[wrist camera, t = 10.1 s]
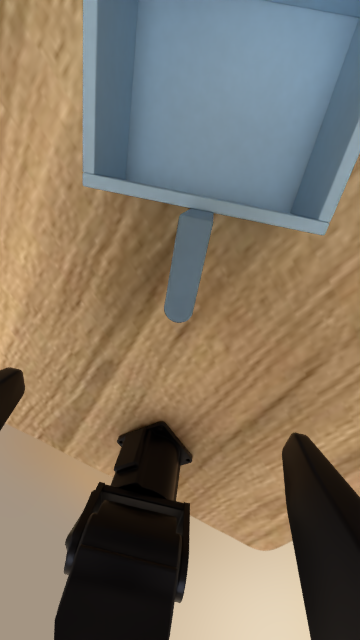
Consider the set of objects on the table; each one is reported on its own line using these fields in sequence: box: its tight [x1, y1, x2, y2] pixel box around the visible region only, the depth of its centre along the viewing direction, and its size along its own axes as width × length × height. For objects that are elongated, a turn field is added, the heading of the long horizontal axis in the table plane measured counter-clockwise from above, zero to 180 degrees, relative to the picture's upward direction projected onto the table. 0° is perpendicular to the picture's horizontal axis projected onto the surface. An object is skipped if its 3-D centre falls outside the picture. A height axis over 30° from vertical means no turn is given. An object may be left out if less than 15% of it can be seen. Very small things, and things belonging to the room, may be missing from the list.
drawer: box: [83, 0, 360, 323], centre depth 12 cm, size 14×12×10 cm
